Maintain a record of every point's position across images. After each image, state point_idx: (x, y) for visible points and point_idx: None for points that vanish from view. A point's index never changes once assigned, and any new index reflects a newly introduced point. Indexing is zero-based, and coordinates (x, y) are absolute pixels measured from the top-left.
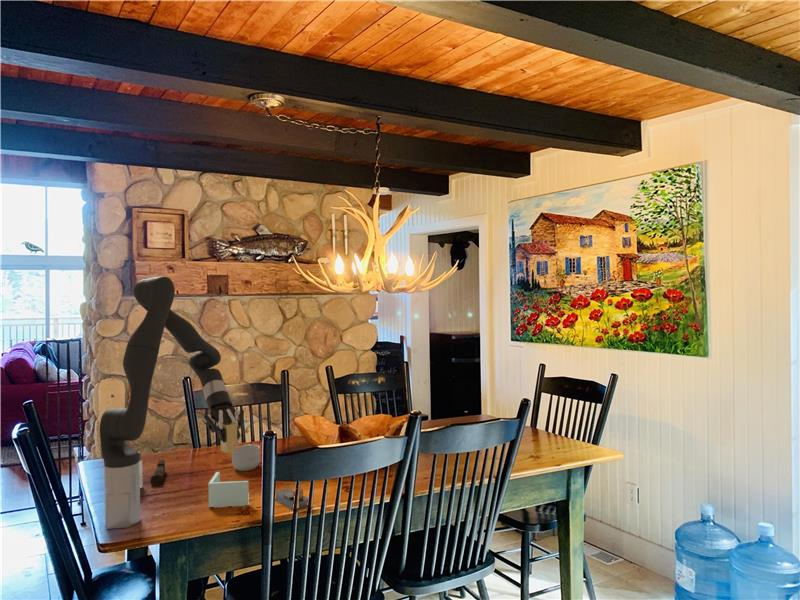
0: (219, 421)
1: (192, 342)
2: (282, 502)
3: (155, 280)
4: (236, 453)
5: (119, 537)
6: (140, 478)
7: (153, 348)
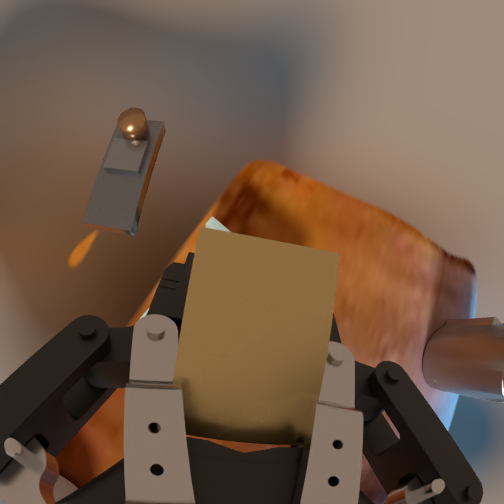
0: (359, 410)
1: None
2: (150, 173)
3: None
4: None
5: (463, 286)
6: None
7: None
